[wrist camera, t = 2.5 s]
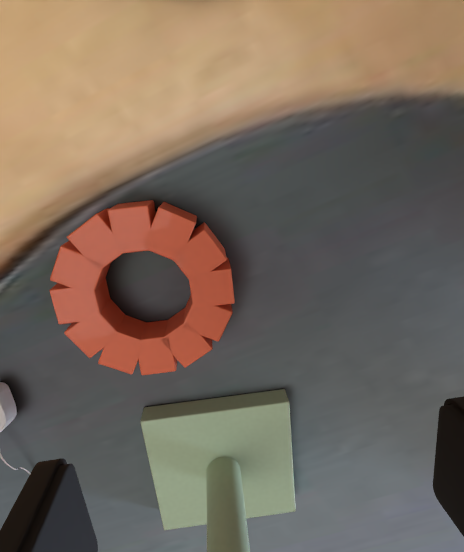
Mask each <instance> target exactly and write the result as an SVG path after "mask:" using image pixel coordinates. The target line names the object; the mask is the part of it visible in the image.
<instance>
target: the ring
mask: <svg viewBox="0 0 464 552" xmlns="http://www.w3.org/2000/svg"><path fill="white" fill-rule="evenodd" d="M196 218H197V216H196V215H193V214H191V213H189V212H187V211H184V210H182V209H180V208H177V207H175V206H173V205H170V204H168V203H166V202H163V203H162V204H161V205H160V206H159V207H158V210H157V212H155V206H154V201H153V200H149V201H140V202H131V203H121V204H117V205H115V206H114V207H112V208H110V209H109V208H107V209H105V210H103V211H101V212H99V213H97V214H95V215H94V216H93V217H92V218H90V219H89V220H88V221H86V222H85V223H84V224H83V225H81V226H80V227H79V228H77V229H76V230H75V231H74V232H72V233H71V234H70V235H69V236H67V238H68V239H69V240H70V241H68V242H67V243H65V244H63V245H62V246H61V247H60V249H59V253H58V256H57V259H56V262H55V265H54V268H53V271H52V274H51V277H50V280H51V281H54V282H57V284H56V285H55V286H54V287H53V288H52V289H50V294H51V298H52V301H53V305H54V308H55V312H56V316H57V319H58V323H59V324H66V323H72V324H71V325H70V326H69V327H68V329H67V330H66V331H65V332H64V333H65V334H66V335H67V336H68V337H69V338H70V339H71V340H72V341H73V342H74V343H75V344H76V345H77V346H78V347H79V348H80V349H81V350H82V351H83V352H84V353H85V354H86V355H87V356H88V357H89V358H91V357H92V356H93V355H95V354H96V353H98V352H99V351H100V350H102V349H103V348H104V349H103V351H102V354H101V356H100V359H99V362H98V363H99V364H101V365H104V366H107V367H110V368H113V369H116V370H119V371H122V372H126V373H129V374H133V371H134V369H135V366H136V364H137V362H138V360H139V365H140V370H141V374H142V375H148V374H156V373H164V372H172V371H176V367H177V360H178V361H179V362H180V363H181V364H182V365H183V366H184V367H187V366H188V365H190V364H191V363H193V362H194V361H196V360H197V359H199V358H200V357H202V356H203V355H205V354H206V353H207V352H209V351H210V350H212V340H215V341H219V340H220V338H221V336H222V334H223V332H224V330H225V328H226V325H227V323H228V321H229V319H230V317H231V315H232V307H231V304H233V303H235V301H234V291H233V281H232V272H231V266H230V262H229V258H227V257H226V253H225V249H224V247H223V246H222V245H221V243H220V242H219V241H218V239H217V238H216V237H215V235H214V234H213V233H212V231H211V230H210V229H209V227H208V226H207V225H206V223H205V222H204V223H202V224H201V225H200V226H198V227H197V228H196V229H194V227H195V224H196ZM193 229H194V230H193ZM147 250H149V251H152V252H154V253H157V254H159V255H162V256H164V257H167V258H169V259H171V260H174V262H175V263H176V264H177V265H178V267H179V268H180V269H181V270H182V271H183V273H184V274H185V275H186V276H187V278H188V279H189V283H190V290H191V296H190V298H189V300H188V302H187V305H186V307H185V308H184V309H182V310H181V311H180V312H178V313H177V314H175V315H174V316H172V317H171V318H170V319H168V320H163V321H155V322H144V321H141V320H138V319H136V318H133V317H130V316H127V315H125V314H124V313H123V312H122V311H121V310H120V309H119V307H118V306H117V305H116V304H115V303H114V302H113V301H112V300H111V299H110V295H109V290H108V286H107V281H106V275H107V272H108V270H109V267H110V264H111V262H112V261H113V260H115V259H116V258H117V257H119V256H120V255H121V254H123V253H130V252H138V251H147Z"/></svg>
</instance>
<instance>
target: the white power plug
mask: <svg viewBox="0 0 464 552" xmlns="http://www.w3.org/2000/svg"><path fill="white" fill-rule="evenodd" d="M16 414H17V410H16V404H15V401H14V399H13V396H12V394H11V391H10V388H9V386H8V385H7V384H5V383H3V382H0V432H1V431H2V430H3V429H4V428H6V427H7V426H8V425H9V424H10V423H11V422H12V421H13V420H14V418H15V416H16ZM0 457H1V459H2V460H3V461H4V462H5V463H6V464H7V465H8V466H9V467H10V468H12V469H14V470H18V469H19V468H18V469H15V468H13V467H11V466H10V465H9V464H8V463H7V462H6V461H5V460H4V459H3V457H2V456H1V453H0ZM20 468H22V467H20ZM22 469H24V468H22ZM24 470H25V471H26V472H28V473H29V474H31V473H30V472H29V471H27V470H26V469H24Z"/></svg>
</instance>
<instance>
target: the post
mask: <svg viewBox="0 0 464 552" xmlns="http://www.w3.org/2000/svg"><path fill="white" fill-rule="evenodd" d="M141 427H142V431H143V436H144V440H145V445H146V449H147V454H148V459H149V463H150V468H151V472H152V477H153V481H154V486H155V490H156V495H157V500H158V504H159V509H160V513H161V518H162V522H163V527H164V530H170V529H177V528H184V527H190V526H197V525H204V524H207V552H250V547H249V539H248V530H247V522H246V518H253V517H260V516H267V515H274V514H280V513H287V512H294V511H295V510H296V509H295V492H294V475H293V457H292V440H291V423H290V405H289V400H288V397H287V394H286V391H285V389H281V390H273V391H266V392H258V393H251V394H243V395H235V396H228V397H220V398H212V399H205V400H197V401H189V402H182V403H174V404H166V405H159V406H151V407H144V409H143V414H142V418H141Z"/></svg>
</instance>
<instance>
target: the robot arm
mask: <svg viewBox="0 0 464 552" xmlns="http://www.w3.org/2000/svg"><path fill="white" fill-rule="evenodd" d="M433 489H434V492H435V495H436V497H437V499H438V501H439V503H440V504H441V505H442V507H443V508H444V510H445V511H446V512H447V514H448V515H449V517H450V518H451V519H452V521H453V522H454V524H455V525H456V526H457V528H458V529H459V531H460V532H461V533H462V535H463V536H464V397H458V398H451V399H447V400H446V401H445V403H444V406H441V407H440V410H439V420H438V432H437V443H436V455H435V466H434V478H433ZM0 552H98V545H97V539H96V536H95V533H94V530H93V526H92V523H91V520H90V517H89V513H88V510H87V507H86V504H85V500H84V497H83V494H82V491H81V487H80V484H79V481H78V478H77V474H76V471H75V468H74V466H73V464H67V462H66V460H65V459H56V460H49V461H43V462H38V463H37V464H36V465H35V467H34V468H33V470H32V472H31V474H30V476H29V478H28V479H27V481H26V483H25V485H24V487H23V489H22V491H21V493H20V494H19V496H18V498H17V500H16V502H15V504H14V506H13V508H12V509H11V511H10V513H9V515H8V517H7V519H6V521H5V523H4V524H3V526H2V528H1V530H0Z"/></svg>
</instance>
